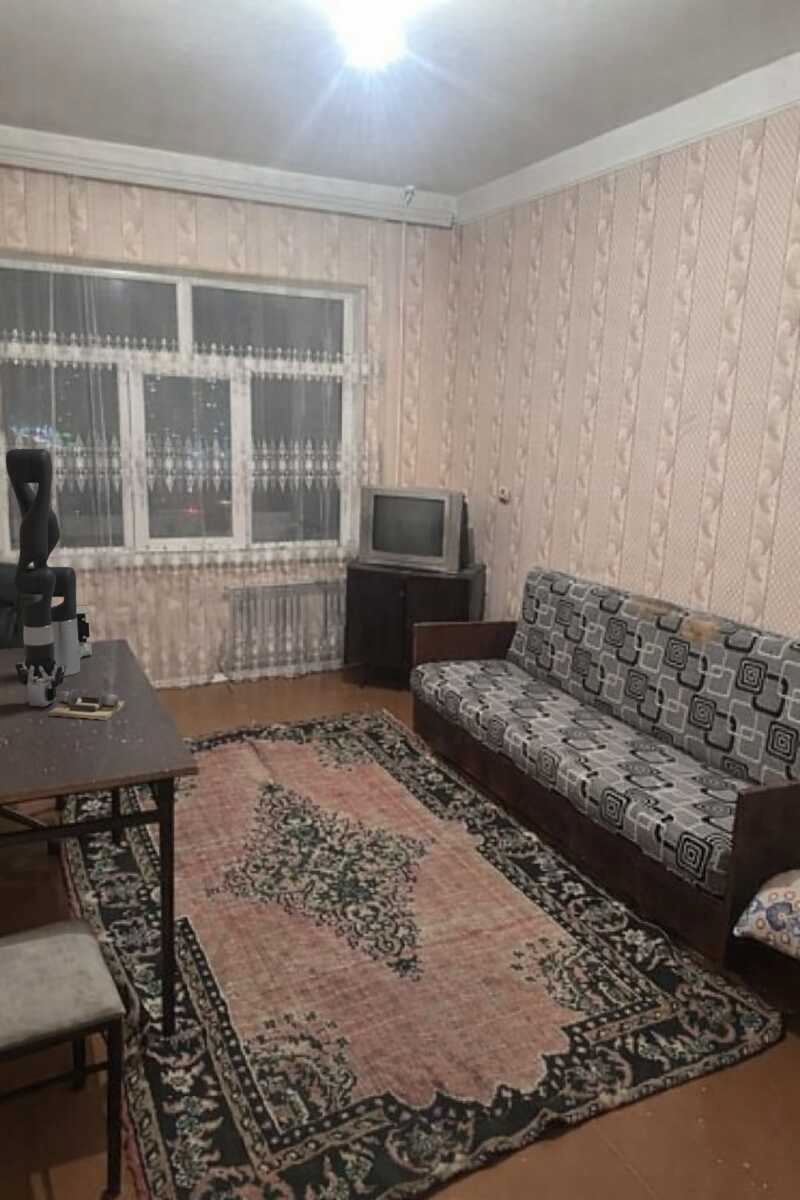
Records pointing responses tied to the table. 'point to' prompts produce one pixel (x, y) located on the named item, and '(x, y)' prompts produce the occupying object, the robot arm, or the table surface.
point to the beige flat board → (86, 705)
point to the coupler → (38, 693)
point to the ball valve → (83, 629)
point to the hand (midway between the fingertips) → (42, 699)
